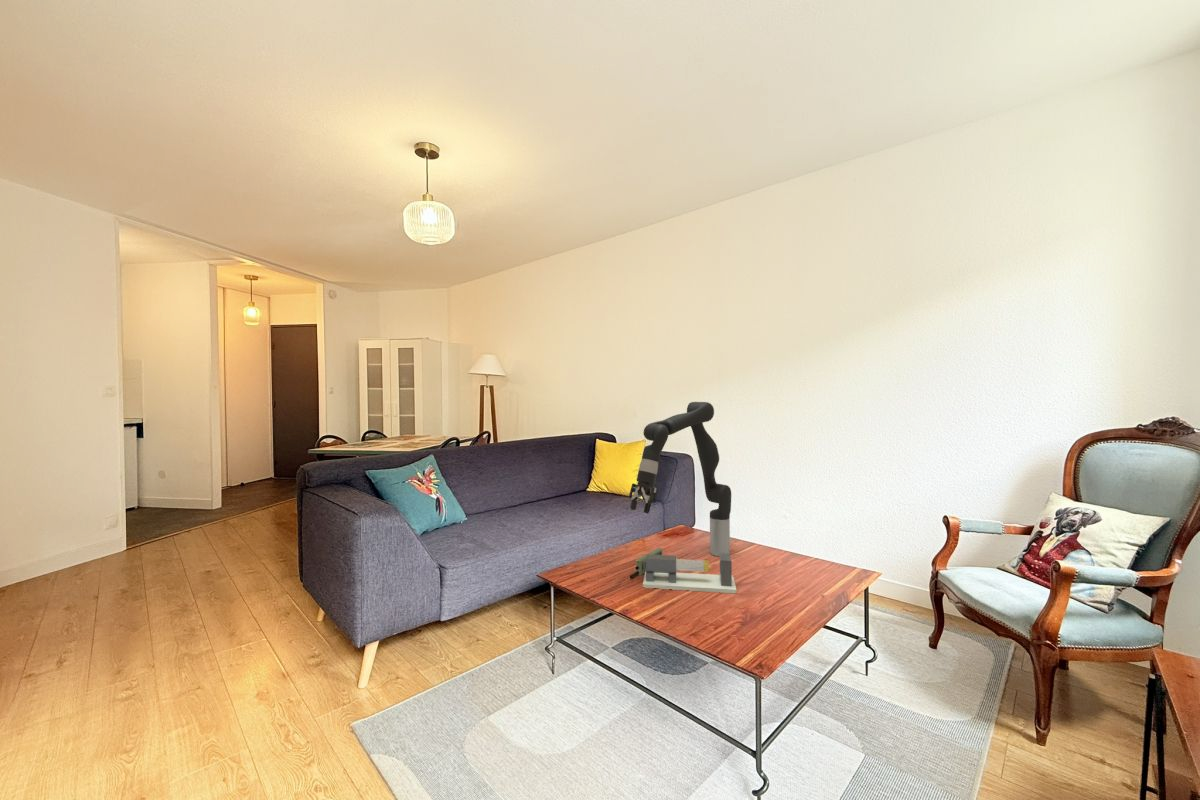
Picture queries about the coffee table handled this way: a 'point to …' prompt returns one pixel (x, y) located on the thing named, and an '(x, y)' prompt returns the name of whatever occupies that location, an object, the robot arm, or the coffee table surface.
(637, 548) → the coffee table surface
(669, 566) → the sleeve
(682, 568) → the silver metal bar
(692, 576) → the base board
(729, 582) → the socket
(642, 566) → the handheld radio
